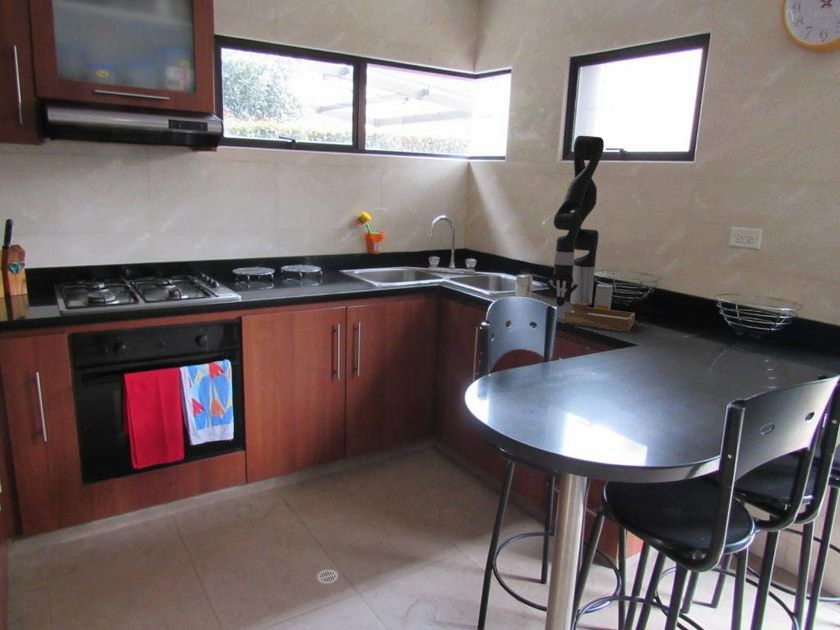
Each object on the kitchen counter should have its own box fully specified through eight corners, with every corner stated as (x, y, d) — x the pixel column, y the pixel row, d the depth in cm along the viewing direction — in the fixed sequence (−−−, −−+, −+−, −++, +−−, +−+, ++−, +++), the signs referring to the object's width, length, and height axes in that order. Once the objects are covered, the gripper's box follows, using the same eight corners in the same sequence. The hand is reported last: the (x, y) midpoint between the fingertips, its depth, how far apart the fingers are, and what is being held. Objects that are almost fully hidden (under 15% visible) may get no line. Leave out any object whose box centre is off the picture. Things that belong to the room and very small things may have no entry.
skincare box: (593, 313, 257) (596, 285, 254) (595, 311, 260) (598, 283, 258) (608, 315, 254) (611, 286, 251) (610, 313, 258) (613, 285, 255)
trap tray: (572, 316, 250) (573, 305, 249) (633, 324, 240) (635, 312, 239) (563, 323, 237) (564, 312, 236) (628, 331, 227) (629, 320, 226)
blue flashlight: (512, 312, 254) (515, 276, 251) (514, 308, 261) (516, 273, 257) (529, 313, 253) (532, 277, 249) (531, 310, 259) (533, 275, 256)
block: (576, 311, 247) (576, 302, 246) (587, 313, 245) (588, 303, 244) (573, 313, 243) (574, 303, 242) (585, 315, 241) (586, 305, 241)
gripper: (582, 263, 244) (578, 306, 247) (549, 260, 249) (546, 302, 253) (578, 265, 237) (574, 309, 241) (545, 262, 243) (541, 305, 246)
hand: (560, 305), depth 247 cm, fingers closed
